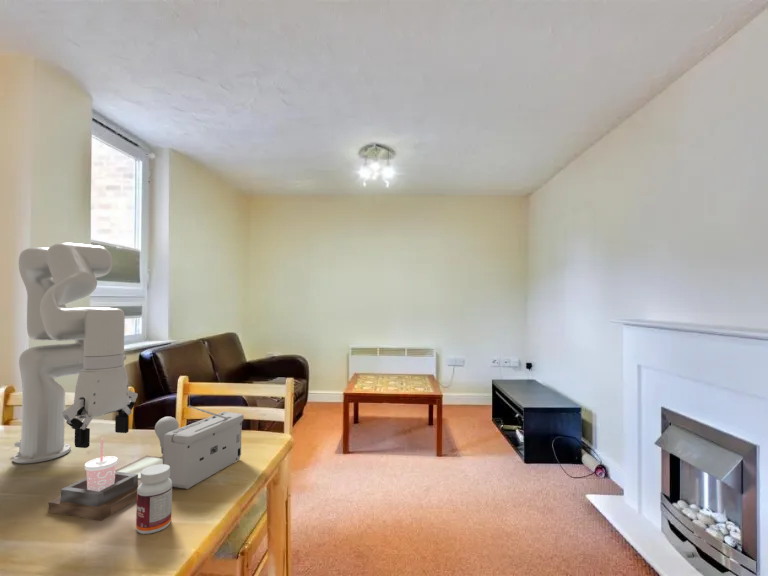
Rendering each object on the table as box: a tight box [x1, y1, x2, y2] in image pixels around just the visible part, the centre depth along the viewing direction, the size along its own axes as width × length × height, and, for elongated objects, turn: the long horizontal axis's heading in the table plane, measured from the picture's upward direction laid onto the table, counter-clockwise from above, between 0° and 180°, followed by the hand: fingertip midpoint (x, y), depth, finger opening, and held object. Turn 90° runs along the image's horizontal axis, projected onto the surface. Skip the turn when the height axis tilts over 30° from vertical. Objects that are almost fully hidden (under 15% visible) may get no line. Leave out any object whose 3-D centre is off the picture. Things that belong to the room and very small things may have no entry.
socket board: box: [47, 455, 163, 521], centre depth 96 cm, size 14×26×4 cm, turn 167°
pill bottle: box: [135, 464, 173, 535], centre depth 80 cm, size 6×6×11 cm
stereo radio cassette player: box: [162, 405, 245, 490], centre depth 105 cm, size 21×8×20 cm, turn 160°
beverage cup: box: [84, 438, 119, 491], centre depth 89 cm, size 6×6×14 cm
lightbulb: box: [154, 416, 180, 455], centre depth 116 cm, size 6×6×11 cm
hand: (103, 439), depth 89 cm, fingers open, 9 cm apart
